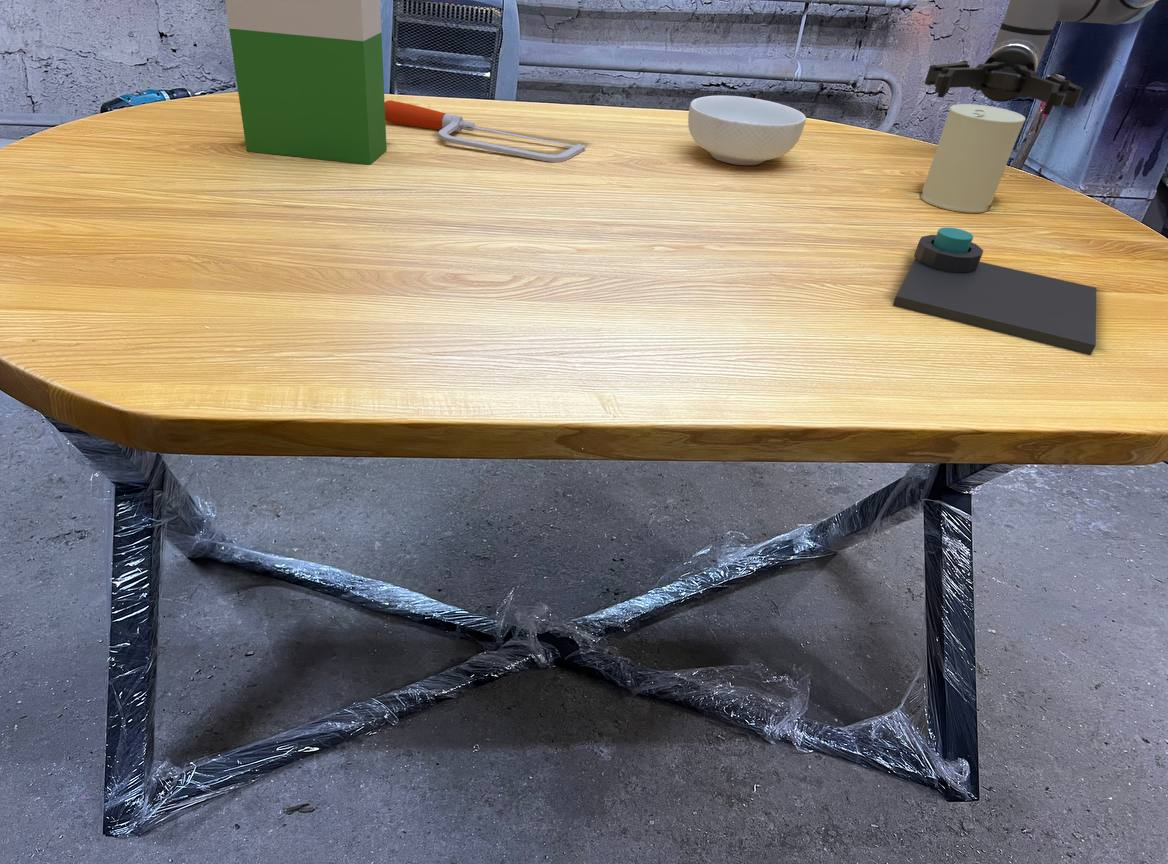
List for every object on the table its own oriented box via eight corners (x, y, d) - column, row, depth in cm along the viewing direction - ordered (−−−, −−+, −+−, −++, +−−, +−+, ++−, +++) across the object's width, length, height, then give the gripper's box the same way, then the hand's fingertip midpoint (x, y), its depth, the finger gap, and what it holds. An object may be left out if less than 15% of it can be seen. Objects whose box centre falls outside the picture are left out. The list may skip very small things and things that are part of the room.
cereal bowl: (729, 180, 115) (740, 126, 111) (660, 147, 127) (667, 98, 123) (818, 169, 122) (831, 118, 118) (745, 139, 134) (754, 92, 129)
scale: (1091, 295, 89) (1104, 269, 87) (1090, 356, 77) (1105, 327, 75) (915, 255, 96) (924, 230, 94) (889, 306, 84) (899, 278, 82)
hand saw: (589, 134, 123) (571, 152, 116) (586, 156, 125) (569, 175, 118) (389, 97, 129) (360, 112, 121) (389, 118, 131) (360, 134, 123)
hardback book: (246, 151, 113) (217, -56, 99) (268, 137, 119) (244, -60, 105) (370, 164, 112) (358, -44, 97) (386, 150, 118) (377, -49, 103)
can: (907, 198, 113) (938, 104, 106) (938, 186, 118) (970, 97, 111) (972, 218, 108) (1009, 121, 101) (1002, 205, 113) (1039, 112, 106)
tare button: (969, 247, 91) (975, 232, 90) (965, 257, 89) (971, 241, 88) (935, 240, 92) (940, 224, 91) (930, 249, 90) (936, 234, 89)
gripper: (1086, 111, 126) (1084, 140, 111) (916, 84, 135) (893, 108, 120) (1110, 57, 121) (1111, 80, 106) (932, 33, 130) (910, 51, 115)
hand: (995, 95), depth 113 cm, fingers open, 13 cm apart
